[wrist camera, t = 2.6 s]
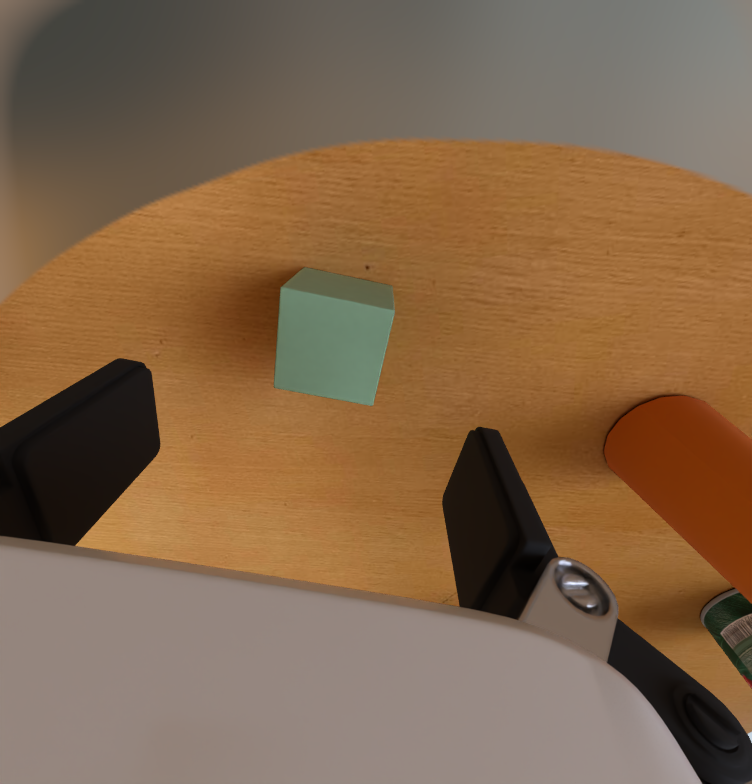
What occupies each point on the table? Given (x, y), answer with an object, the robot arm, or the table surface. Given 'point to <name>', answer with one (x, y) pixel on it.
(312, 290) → the cube
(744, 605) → the canned tomato
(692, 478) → the spray bottle
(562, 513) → the table surface
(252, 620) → the robot arm
